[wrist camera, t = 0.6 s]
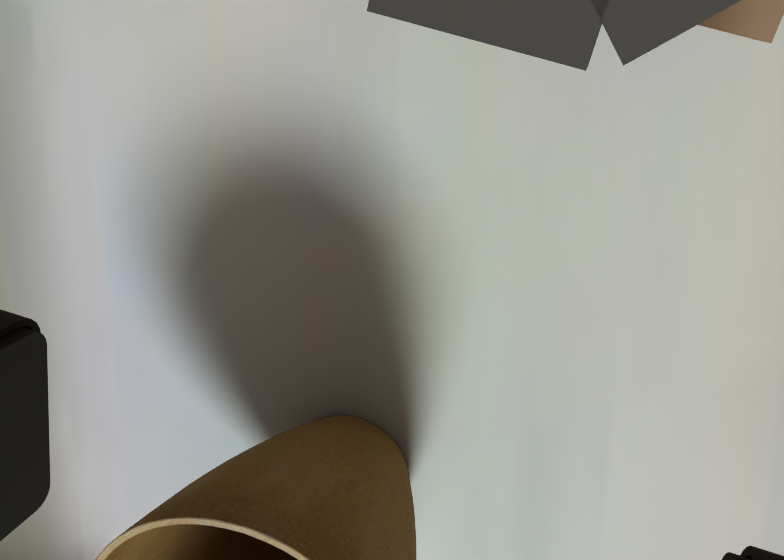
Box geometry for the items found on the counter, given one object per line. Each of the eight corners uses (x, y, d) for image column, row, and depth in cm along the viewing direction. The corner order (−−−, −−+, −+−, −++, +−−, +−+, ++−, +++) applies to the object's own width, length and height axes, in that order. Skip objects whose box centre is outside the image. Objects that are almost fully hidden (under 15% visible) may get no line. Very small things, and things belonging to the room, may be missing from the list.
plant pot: (518, 514, 44) (471, 762, 29) (330, 592, 50) (215, 829, 35) (375, 310, 42) (249, 467, 27) (198, 416, 48) (18, 591, 33)
